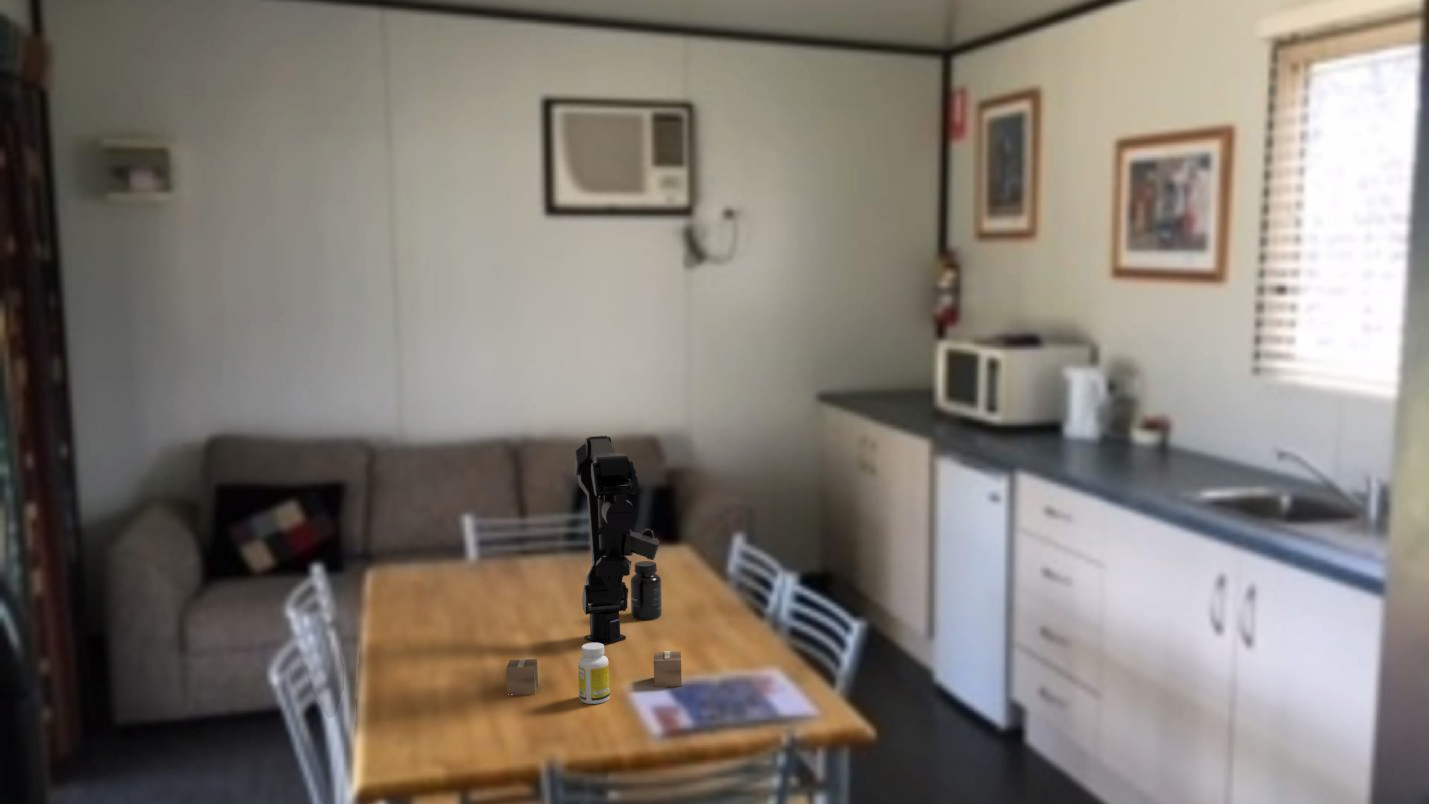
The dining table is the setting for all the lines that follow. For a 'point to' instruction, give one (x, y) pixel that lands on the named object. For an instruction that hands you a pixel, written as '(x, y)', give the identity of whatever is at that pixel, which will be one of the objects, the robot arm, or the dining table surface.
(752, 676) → the dining table surface
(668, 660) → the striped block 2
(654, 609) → the supplement bottle
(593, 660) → the supplement bottle
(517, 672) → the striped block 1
